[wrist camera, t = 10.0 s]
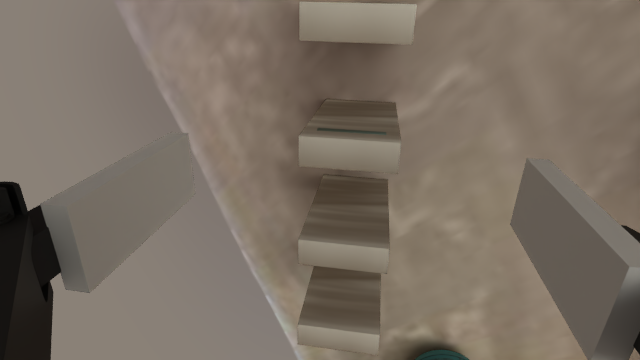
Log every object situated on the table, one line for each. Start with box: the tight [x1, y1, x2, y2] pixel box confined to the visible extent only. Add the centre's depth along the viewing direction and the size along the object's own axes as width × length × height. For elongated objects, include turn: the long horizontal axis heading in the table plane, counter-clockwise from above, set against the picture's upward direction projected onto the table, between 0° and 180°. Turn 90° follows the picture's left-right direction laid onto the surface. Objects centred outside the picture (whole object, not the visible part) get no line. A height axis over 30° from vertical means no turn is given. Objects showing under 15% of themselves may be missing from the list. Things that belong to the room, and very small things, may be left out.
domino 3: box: [298, 175, 390, 274], centre depth 26 cm, size 2×5×10 cm, turn 88°
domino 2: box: [299, 99, 401, 174], centre depth 24 cm, size 2×5×10 cm, turn 89°
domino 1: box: [299, 2, 417, 45], centre depth 21 cm, size 2×5×10 cm, turn 89°
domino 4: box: [298, 266, 381, 355], centre depth 28 cm, size 2×5×10 cm, turn 88°
